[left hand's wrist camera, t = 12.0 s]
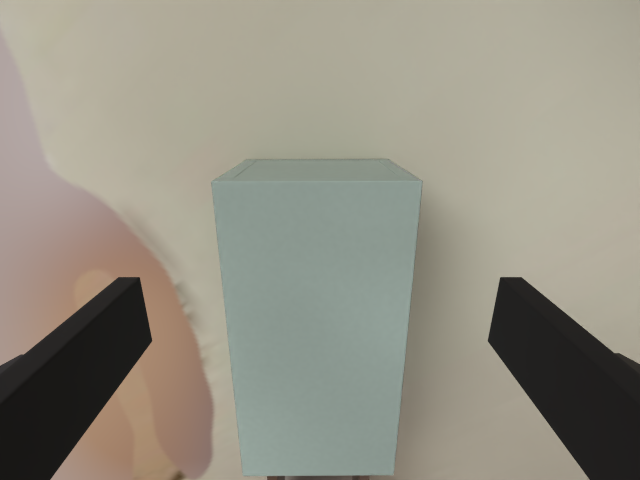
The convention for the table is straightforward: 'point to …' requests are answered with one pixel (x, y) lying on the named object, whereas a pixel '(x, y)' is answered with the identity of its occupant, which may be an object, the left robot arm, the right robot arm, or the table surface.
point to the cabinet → (317, 310)
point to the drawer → (320, 477)
